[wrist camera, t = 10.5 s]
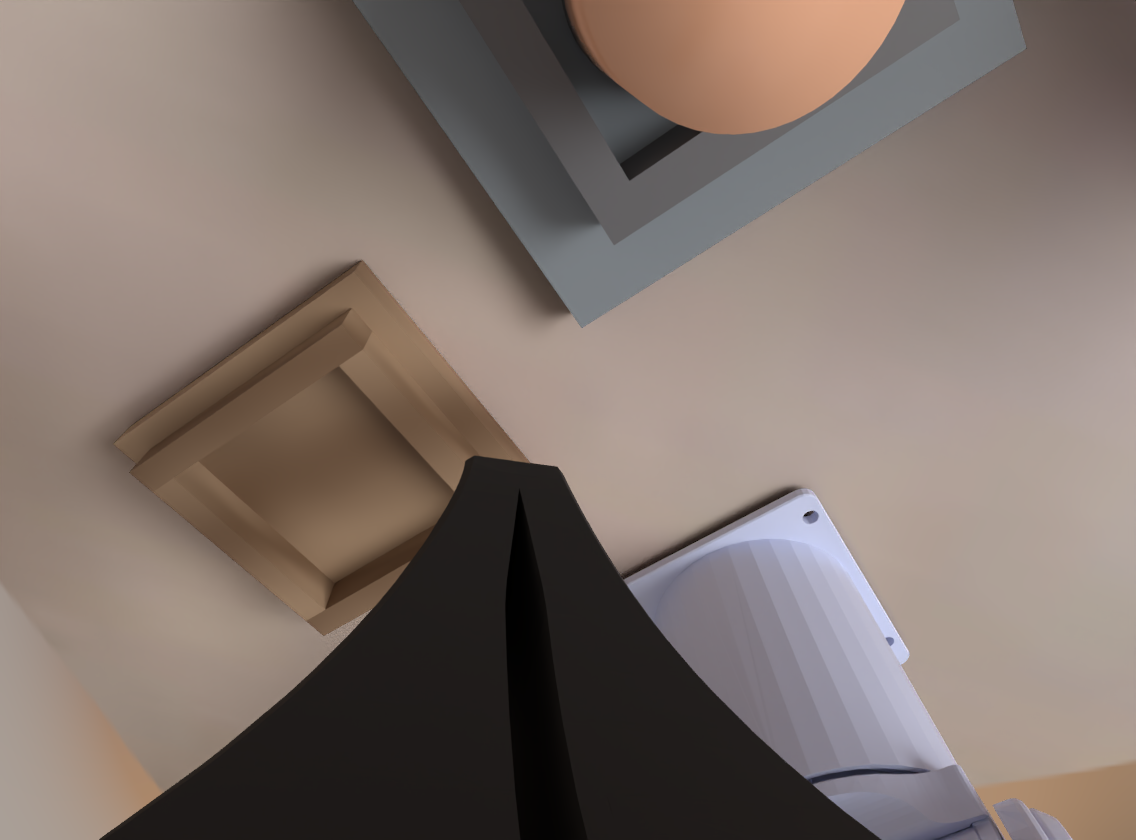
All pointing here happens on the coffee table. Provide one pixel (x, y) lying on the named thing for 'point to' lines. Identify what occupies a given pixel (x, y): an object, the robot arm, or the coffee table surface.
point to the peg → (731, 54)
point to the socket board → (650, 132)
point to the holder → (320, 449)
